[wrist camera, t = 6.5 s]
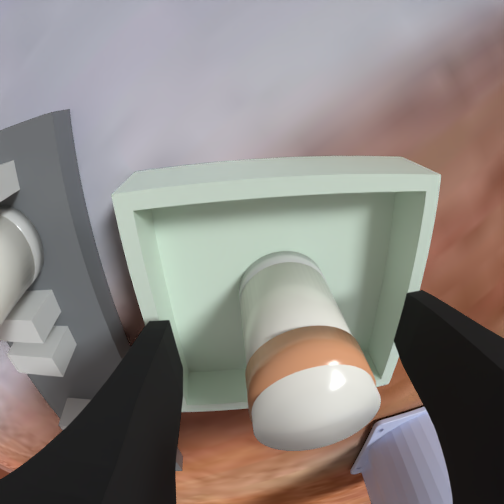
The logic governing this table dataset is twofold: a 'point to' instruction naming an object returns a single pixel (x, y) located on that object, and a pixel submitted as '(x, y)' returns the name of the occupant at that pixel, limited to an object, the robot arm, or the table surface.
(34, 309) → the fuse board
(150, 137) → the table surface
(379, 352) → the tray
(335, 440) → the cylinder
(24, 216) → the white glossy rounded part
